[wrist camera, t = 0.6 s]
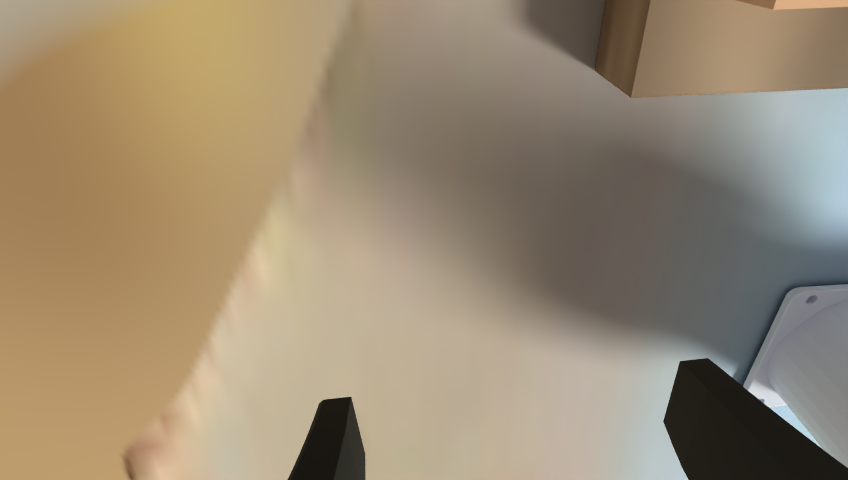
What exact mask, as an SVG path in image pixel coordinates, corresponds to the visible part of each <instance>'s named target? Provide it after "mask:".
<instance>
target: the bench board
mask: <svg viewBox="0 0 848 480" xmlns="http://www.w3.org/2000/svg"><path fill="white" fill-rule="evenodd" d="M595 71H596V72H597V73H599V74H600V75H601V76H603V77H604V78H605V79H607V80H608V81H609V82H611V83H612V84H613V85H615V86H616V87H617V88H619V89H620V90H621V91H623V92H624V93H625V94H627V95H628V96H629V97H631V98H637V97H659V96H681V95H703V94H725V93H747V92H769V91H791V90H813V89H835V88H848V7H832V8H806V9H780V10H772V9H768V8H764V7H760V6H756V5H752V4H748V3H744V2H740V1H736V0H606V3H605V9H604V16H603V22H602V28H601V35H600V41H599V47H598V54H597V60H596V66H595Z"/></svg>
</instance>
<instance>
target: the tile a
mask: <svg viewBox="0 0 848 480" xmlns="http://www.w3.org/2000/svg"><path fill="white" fill-rule="evenodd" d="M736 1H740V2H744V3H748V4H752V5H756V6H760V7H764V8H768V9H772V10H780V9H806V8H832V7H848V0H736Z"/></svg>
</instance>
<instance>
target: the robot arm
mask: <svg viewBox="0 0 848 480" xmlns="http://www.w3.org/2000/svg"><path fill="white" fill-rule="evenodd" d="M775 406H788V407H789V408H790V409H791V411H792V412H793V413H794V414H795V416H796V417H797V418H798V419H799V420H800V422H801V423H802V424H803V425H804V427H805V428H806V429H807V430H808V431H809V433H810V434H811V435H812V436H813V438H814V439H815V440H816V441H817V442H818V444H819V445H820V446H821V447H822V448H820V447H819V446H818V445H816V444H815V443H814V442H812V441H811V440H810V439H808V438H807V437H806V436H804V435H803V434H802V433H801V432H799V431H798V430H797V429H795V428H794V427H793V426H792V425H790V424H789V423H788V422H786V421H785V420H784V419H783V418H781V417H780V416H779V415H778V414H776V413H775V412H774V411H773V410H771V409H770V408H769V407H775ZM663 422H664V424H665V427H666V429H667V432H668V434H669V437H670V439H671V442H672V444H673V447H674V449H675V452H676V454H677V456H678V459H679V461H680V463H681V466H682V468H683V470H684V472H685V474H686V476H687V477H688V479H689V480H848V284H842V285H826V286H810V287H798V288H794V289H792V290H790V291H789V292H788V293H787V294H786V296H785V298H784V300H783V302H782V304H781V307H780V309H779V311H778V313H777V315H776V317H775V319H774V321H773V324H772V326H771V328H770V330H769V332H768V334H767V336H766V338H765V340H764V343H763V345H762V347H761V349H760V351H759V353H758V355H757V357H756V360H755V362H754V364H753V366H752V368H751V370H750V372H749V374H748V376H747V379H746V381H745V383H744V385H743V386H742V385H740V384H739V383H738V382H737V381H736V380H734V379H733V378H732V377H731V376H729V375H728V374H727V373H726V372H724V371H723V370H722V369H721V368H719V367H718V366H717V365H716V364H714V363H713V362H712V361H711V360H709V359H708V358H706V359H697V360H687V361H680V363H679V367H678V371H677V374H676V378H675V381H674V385H673V389H672V392H671V396H670V400H669V403H668V407H667V410H666V414H665V418H664V421H663ZM288 480H365V452H364V448H363V444H362V439H361V435H360V431H359V427H358V423H357V419H356V415H355V411H354V407H353V403H352V399H351V397H345V398H336V399H327V400H323V401H322V402H320V403H319V405H318V408H317V411H316V414H315V417H314V420H313V422H312V425H311V427H310V430H309V433H308V435H307V437H306V440H305V442H304V445H303V447H302V449H301V452H300V454H299V456H298V459H297V461H296V463H295V465H294V468H293V470H292V472H291V474H290V476H289V478H288Z"/></svg>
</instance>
